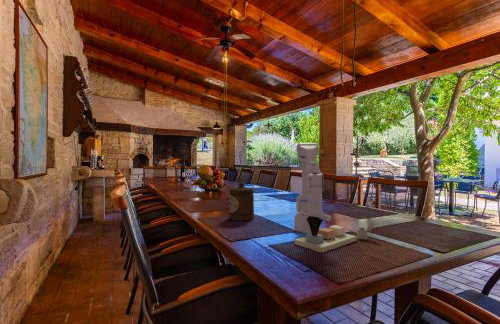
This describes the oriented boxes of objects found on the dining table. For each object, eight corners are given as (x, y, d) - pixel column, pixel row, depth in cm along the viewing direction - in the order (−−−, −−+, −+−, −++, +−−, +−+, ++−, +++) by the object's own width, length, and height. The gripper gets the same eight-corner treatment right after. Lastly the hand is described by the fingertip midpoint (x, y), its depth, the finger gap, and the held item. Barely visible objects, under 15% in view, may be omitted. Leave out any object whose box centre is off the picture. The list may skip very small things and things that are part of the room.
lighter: (357, 238, 127) (357, 221, 127) (357, 237, 129) (357, 220, 128) (374, 240, 125) (374, 222, 125) (373, 238, 127) (373, 221, 127)
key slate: (306, 241, 117) (306, 234, 117) (313, 239, 120) (313, 232, 120) (315, 244, 113) (315, 237, 113) (323, 242, 116) (323, 235, 116)
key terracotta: (317, 236, 122) (317, 229, 122) (324, 234, 125) (324, 227, 125) (327, 239, 118) (327, 231, 118) (334, 236, 121) (334, 230, 121)
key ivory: (328, 233, 127) (328, 226, 127) (335, 231, 130) (335, 225, 130) (338, 235, 123) (338, 228, 123) (344, 233, 126) (344, 227, 126)
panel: (294, 244, 119) (294, 239, 119) (329, 234, 135) (329, 229, 135) (321, 252, 108) (321, 247, 108) (356, 240, 124) (356, 236, 124)
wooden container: (226, 216, 174) (226, 181, 173) (249, 215, 178) (249, 180, 178) (232, 222, 160) (232, 183, 159) (257, 220, 164) (257, 182, 164)
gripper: (295, 201, 119) (295, 233, 119) (323, 206, 108) (323, 241, 108) (305, 199, 124) (305, 230, 124) (334, 204, 112) (334, 237, 113)
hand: (314, 235), depth 116 cm, fingers closed, pressing on key slate
